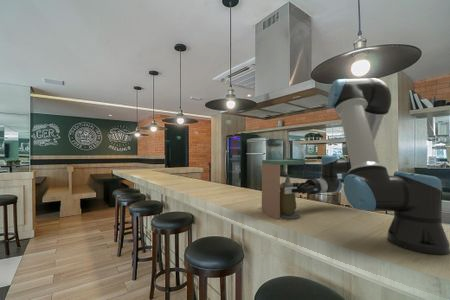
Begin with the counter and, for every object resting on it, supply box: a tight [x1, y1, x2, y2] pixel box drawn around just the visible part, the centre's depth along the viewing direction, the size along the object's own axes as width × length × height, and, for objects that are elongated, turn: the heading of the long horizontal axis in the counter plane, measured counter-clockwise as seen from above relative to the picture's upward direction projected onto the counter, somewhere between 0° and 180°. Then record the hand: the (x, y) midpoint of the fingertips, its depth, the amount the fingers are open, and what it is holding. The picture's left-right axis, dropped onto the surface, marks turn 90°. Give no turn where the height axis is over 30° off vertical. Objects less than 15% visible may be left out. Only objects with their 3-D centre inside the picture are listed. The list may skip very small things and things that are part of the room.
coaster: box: [280, 211, 301, 220], centre depth 102 cm, size 12×12×1 cm
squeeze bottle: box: [280, 175, 297, 215], centre depth 102 cm, size 8×8×18 cm
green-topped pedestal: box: [261, 157, 306, 220], centre depth 105 cm, size 12×16×26 cm
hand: (278, 189), depth 100 cm, fingers open, 8 cm apart
